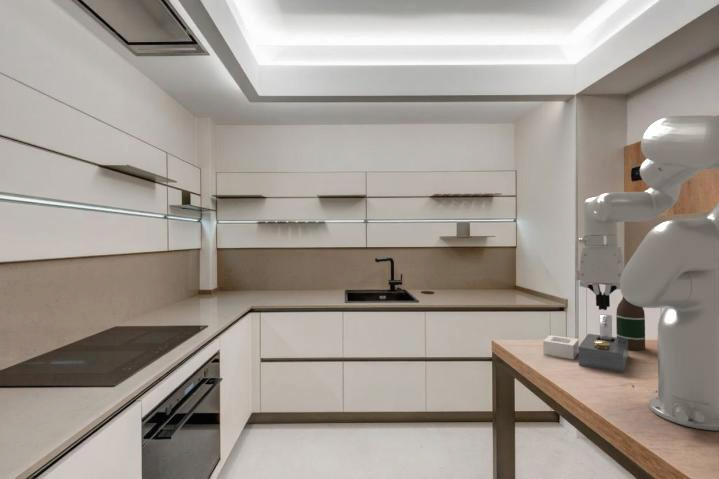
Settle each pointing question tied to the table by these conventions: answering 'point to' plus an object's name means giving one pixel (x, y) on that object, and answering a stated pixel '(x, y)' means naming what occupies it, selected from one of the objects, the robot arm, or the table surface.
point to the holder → (561, 347)
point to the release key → (601, 344)
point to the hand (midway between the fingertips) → (603, 309)
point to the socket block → (604, 354)
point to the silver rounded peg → (606, 328)
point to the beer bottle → (631, 325)
